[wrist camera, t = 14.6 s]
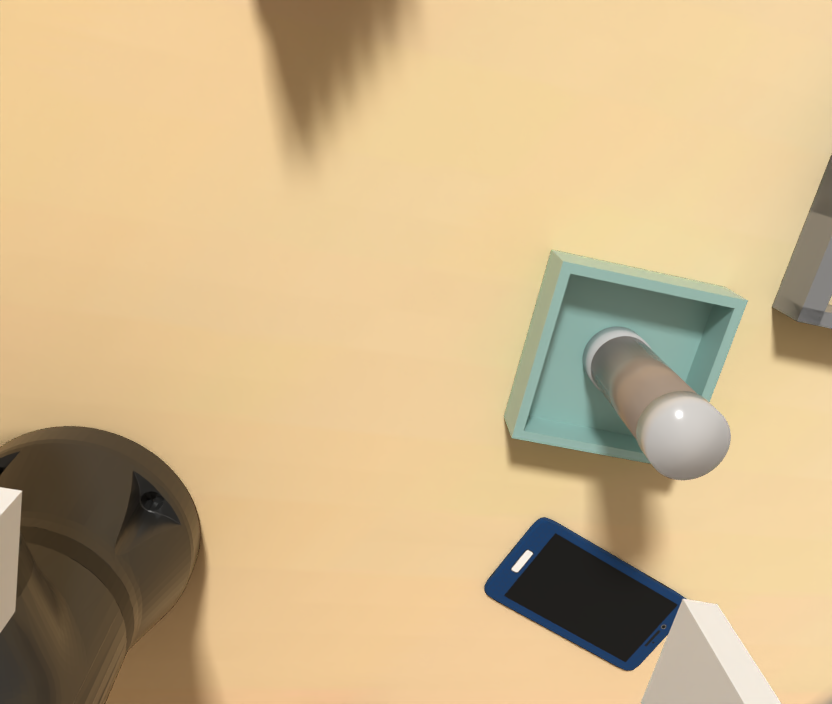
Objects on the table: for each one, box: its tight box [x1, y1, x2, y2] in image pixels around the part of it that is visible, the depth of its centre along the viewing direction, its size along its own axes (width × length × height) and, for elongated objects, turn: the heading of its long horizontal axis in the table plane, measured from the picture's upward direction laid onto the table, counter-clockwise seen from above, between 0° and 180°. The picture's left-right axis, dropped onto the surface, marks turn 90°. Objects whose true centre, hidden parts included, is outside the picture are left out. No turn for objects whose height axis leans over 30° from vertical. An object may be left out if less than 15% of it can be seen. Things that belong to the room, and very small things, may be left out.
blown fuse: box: [582, 326, 731, 480], centre depth 41 cm, size 4×4×12 cm
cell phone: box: [485, 517, 686, 671], centre depth 54 cm, size 7×14×1 cm, turn 56°
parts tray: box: [504, 250, 748, 464], centre depth 46 cm, size 11×11×3 cm
